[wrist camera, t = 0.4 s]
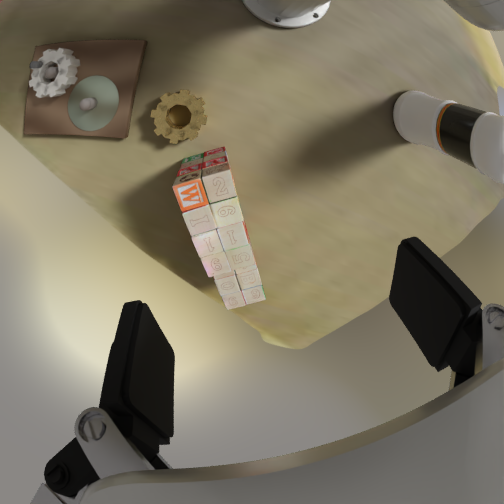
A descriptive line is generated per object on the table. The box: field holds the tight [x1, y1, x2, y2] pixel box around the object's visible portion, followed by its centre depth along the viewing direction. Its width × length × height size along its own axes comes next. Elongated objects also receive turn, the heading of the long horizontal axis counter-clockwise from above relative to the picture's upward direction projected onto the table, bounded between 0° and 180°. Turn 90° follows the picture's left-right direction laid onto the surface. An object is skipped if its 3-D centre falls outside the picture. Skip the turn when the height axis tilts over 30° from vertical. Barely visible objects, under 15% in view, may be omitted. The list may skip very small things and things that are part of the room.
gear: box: [29, 48, 80, 98], centre depth 23 cm, size 7×7×5 cm
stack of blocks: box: [173, 147, 266, 310], centre depth 38 cm, size 21×6×12 cm, turn 13°
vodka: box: [393, 90, 504, 184], centre depth 25 cm, size 9×9×30 cm
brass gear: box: [151, 90, 207, 144], centre depth 33 cm, size 7×7×3 cm
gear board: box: [24, 40, 147, 138], centre depth 26 cm, size 14×18×5 cm
